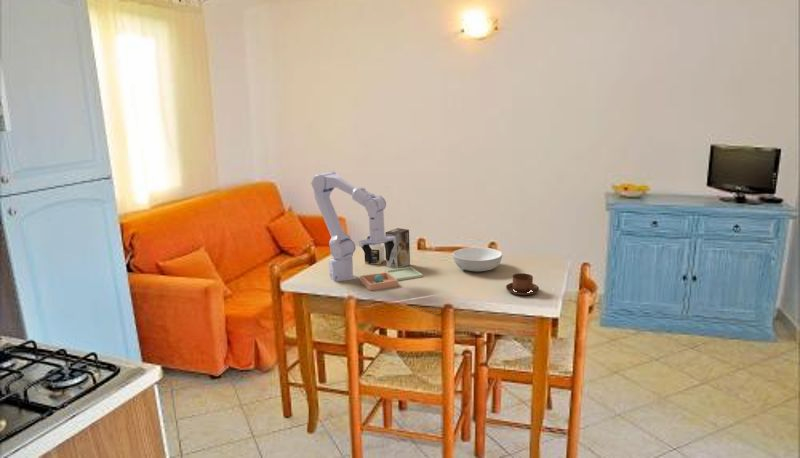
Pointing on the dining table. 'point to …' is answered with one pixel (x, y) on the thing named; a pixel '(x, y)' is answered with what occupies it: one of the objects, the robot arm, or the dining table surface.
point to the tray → (404, 273)
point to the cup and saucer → (522, 284)
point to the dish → (372, 285)
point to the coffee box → (399, 248)
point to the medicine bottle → (376, 253)
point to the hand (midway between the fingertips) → (378, 261)
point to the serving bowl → (477, 258)
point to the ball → (378, 278)
